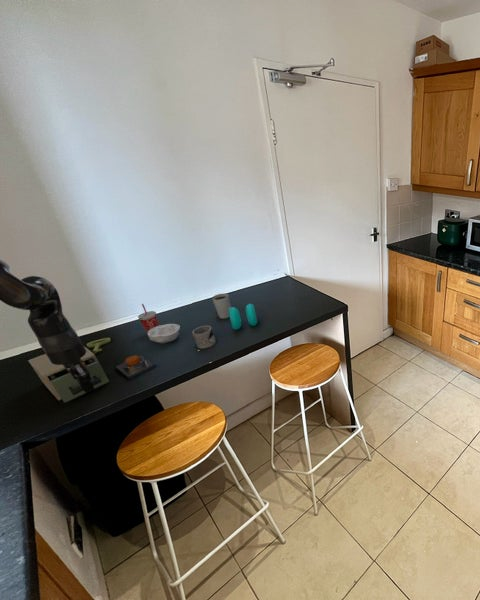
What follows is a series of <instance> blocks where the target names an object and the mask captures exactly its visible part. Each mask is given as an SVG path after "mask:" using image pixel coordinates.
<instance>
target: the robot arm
mask: <svg viewBox="0 0 480 600" xmlns="http://www.w3.org/2000/svg"><path fill="white" fill-rule="evenodd" d="M60 297H61V296H60V293H59V291H58V289H57V287H56V286H55V284H54V283H52V281H50V280H49V279H47V278H45V277H43V276H39V275H30V276H26V277H23V278H22V279H20V278H19V277H17V276H16V275H15V274H13V273H12V266H11V265H10V264H9V263H8V262H6V261H4V259H1V258H0V301H1V302H2V303H3V304H5V305H7V306H9V307H12V308H13V309H14V308H15V309H18V310H22V311H29V315H28V317H27V324H28V325H29V327H30V329H31V331H32V332H33V334H34V335H35V337H36V339H37V341H38V344H39V345H40V347H41V349H42V350H43V352H44V354H46V355H47V357H48V358H49V360H50V361H51V363H52V364H55V365H63V366H64V368H65V369H66V370H67V371H68V372H69V374H70V375H71V376H72V377H73V378H74V379H76V381H77V382H78V383H79V384H80V386H81V387H82V389H83V390H84V391H85V392H86V393H85V394H87V393H89V392H91V391H93V390H95V389H94V387H93V385H92V383H91V382H90V381H91V377H90V374H89V371H88V370H87V368H86V364H85V362H84V361H82V360H81V357H83V356H84V355H85V354H86V349H85V347H86V346H84V344H83V342H82V340H81V338H80V337H79V335H78V333H77V332H76V329H74V328H73V326H72V325H71V323H70V321H69V319H68V318H67V316H66V315H65V313H64V309H63V305H62V301H61V298H60Z"/></svg>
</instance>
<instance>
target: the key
mask: <svg viewBox="0 0 480 600" xmlns="http://www.w3.org/2000/svg"><path fill="white" fill-rule="evenodd" d="M111 339H112V338H111V337H104V338H100V339H96V340H92V341H90V342H88V343H86V348H93V349H92V353H93V354H97V353H99V352H102V351H103V348H101V347H102V346H103V345H107V344H108V343H110V342H111V341H112V340H111Z"/></svg>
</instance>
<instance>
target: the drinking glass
mask: <svg viewBox="0 0 480 600" xmlns="http://www.w3.org/2000/svg"><path fill="white" fill-rule="evenodd" d="M211 299H212V303H213V305H214V308H215V310H216V313H217V315H218V316H217V317H218V318H219V319H228V318H230V316H229V309H230V308H231V307H232V305H231V301H230V296H229V294H228V293H218V294H214V295H213V296H212V297H211Z"/></svg>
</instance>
